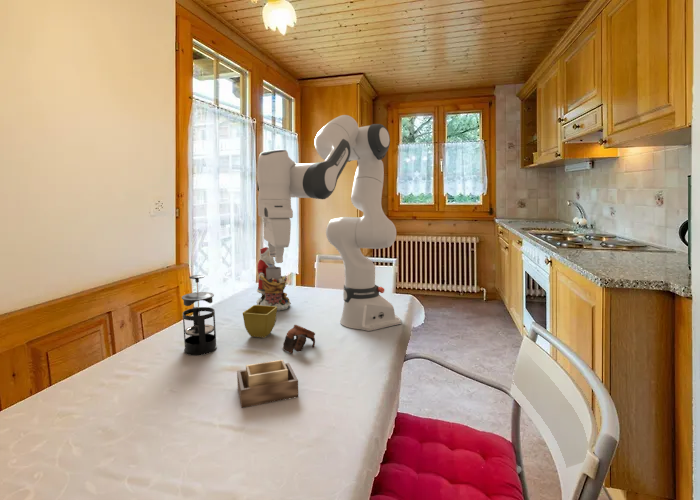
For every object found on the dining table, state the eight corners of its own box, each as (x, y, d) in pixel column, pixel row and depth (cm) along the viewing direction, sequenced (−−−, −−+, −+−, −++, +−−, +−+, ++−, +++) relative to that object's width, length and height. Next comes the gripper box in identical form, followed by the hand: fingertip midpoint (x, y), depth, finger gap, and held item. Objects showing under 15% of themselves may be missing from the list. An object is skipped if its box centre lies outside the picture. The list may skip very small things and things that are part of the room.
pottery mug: (278, 346, 120) (289, 321, 122) (305, 357, 122) (316, 332, 124) (282, 351, 109) (294, 324, 111) (312, 363, 111) (323, 336, 113)
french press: (220, 352, 114) (216, 277, 111) (186, 359, 110) (181, 281, 106) (212, 339, 124) (209, 270, 121) (181, 344, 120) (177, 273, 116)
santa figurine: (293, 310, 155) (291, 249, 152) (257, 313, 151) (255, 251, 148) (288, 299, 171) (286, 244, 168) (256, 302, 167) (253, 246, 164)
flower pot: (267, 341, 123) (267, 314, 122) (242, 338, 125) (241, 312, 124) (278, 331, 132) (277, 306, 130) (254, 329, 133) (253, 304, 132)
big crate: (289, 378, 99) (288, 362, 98) (298, 397, 90) (298, 380, 89) (237, 386, 94) (237, 370, 93) (241, 407, 85) (241, 390, 84)
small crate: (283, 380, 96) (282, 359, 95) (288, 391, 91) (287, 369, 90) (246, 386, 93) (245, 365, 92) (249, 398, 87) (248, 376, 87)
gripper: (257, 208, 113) (259, 254, 115) (269, 211, 94) (270, 266, 96) (279, 208, 115) (280, 253, 117) (294, 211, 96) (295, 265, 98)
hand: (275, 259), depth 106 cm, fingers open, 8 cm apart
